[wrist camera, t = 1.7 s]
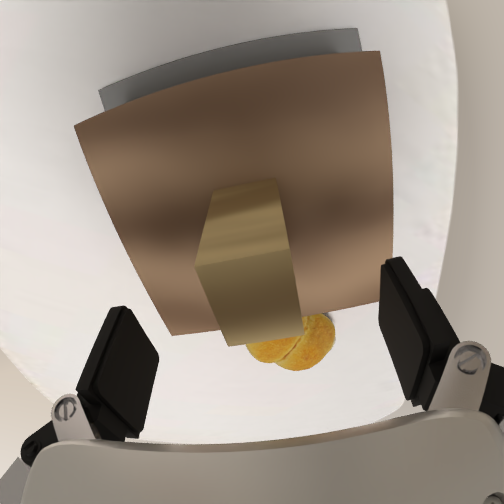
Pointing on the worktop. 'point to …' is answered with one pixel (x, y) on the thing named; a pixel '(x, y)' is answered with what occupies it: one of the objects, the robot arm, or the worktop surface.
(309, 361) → the bread roll
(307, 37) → the rubber mat
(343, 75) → the square lid with knob
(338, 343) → the worktop surface
